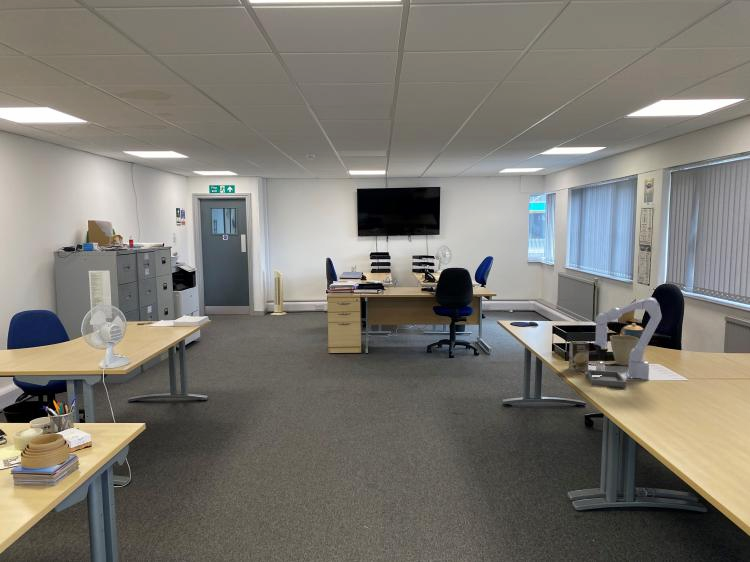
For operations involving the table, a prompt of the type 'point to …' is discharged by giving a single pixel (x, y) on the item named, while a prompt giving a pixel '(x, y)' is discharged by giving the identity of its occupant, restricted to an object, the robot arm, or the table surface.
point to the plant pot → (622, 347)
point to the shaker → (600, 365)
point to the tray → (606, 378)
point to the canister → (633, 331)
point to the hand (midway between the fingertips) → (600, 358)
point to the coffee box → (578, 355)
